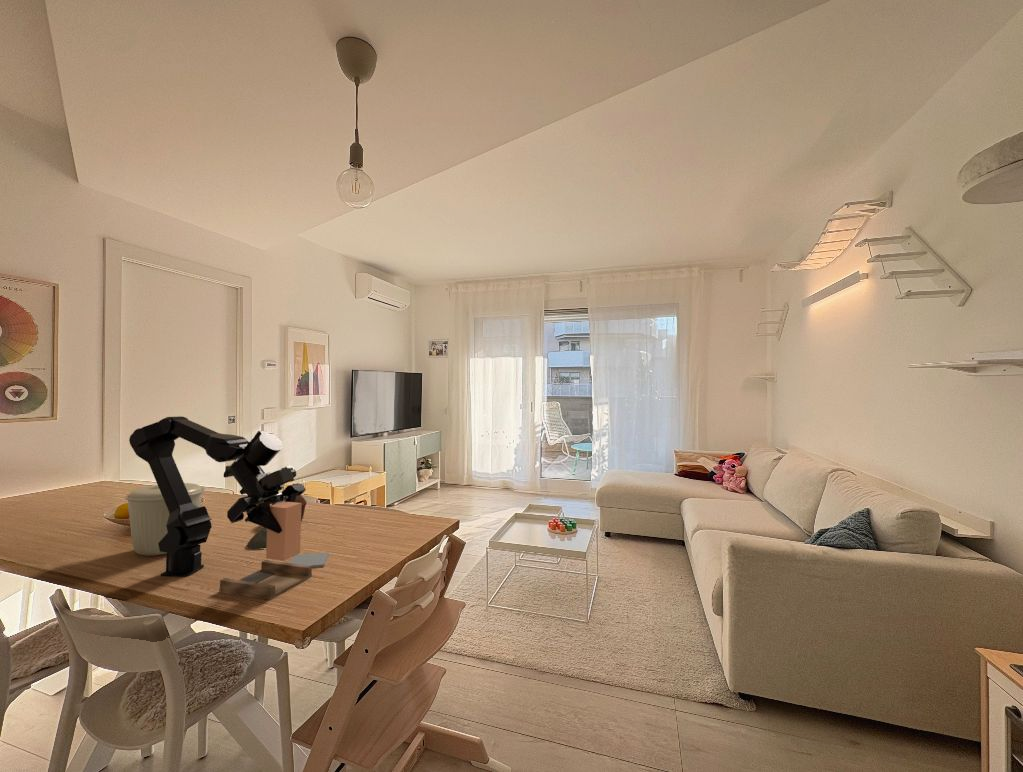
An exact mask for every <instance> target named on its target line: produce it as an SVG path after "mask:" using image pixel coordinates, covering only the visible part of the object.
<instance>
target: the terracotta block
mask: <svg viewBox="0 0 1023 772" xmlns="http://www.w3.org/2000/svg"><path fill="white" fill-rule="evenodd" d="M301 507H302V503H296V502H285V501H284V502H281V503H277V504H274V505H272V504H270V511H271V512H272V514H273V515H274V517H275V518H276V520H277V521H278V523H279V525H280V527H281V529H282V531H281V532H280V533H276V532H274V531H272V530H269V529H267V548H266V554H265V555H266V557H265V559H266V560H273V561H282V562H283V561H287V560H289V559H292V557H293V556H295V555H301V536H302V535H301V533H302V522H301Z"/></svg>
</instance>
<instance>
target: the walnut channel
mask: <svg viewBox="0 0 1023 772" xmlns="http://www.w3.org/2000/svg"><path fill="white" fill-rule="evenodd" d="M260 567H261V569H260V570H257V571H254V572H253V573H250V574H249V575H247V576H244V577H242V578H240V579H233V578H227V577H224V578H222V579H220V580H219V590H218V591H219V593H224V594H231V595H236V596H243V597H250V598H255V599H262V600H268V601H272V600H274V599H275V598H277V597H278V596H280V595H282V594H284V593H285V592H287V591H289V590H291V589H292V588H294V587H296V586H297V585H300V584H301V583H303V582H305V581H306V580H308V579H310V578H312V577H313V574H312V573H313V570H312V569H313V568H312V566H307V565H300V564H292V563H289V562H283V561H282V562H281V561H278V560H270V559H264V560H262V561H261V566H260Z"/></svg>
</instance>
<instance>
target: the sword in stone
mask: <svg viewBox="0 0 1023 772" xmlns="http://www.w3.org/2000/svg"><path fill="white" fill-rule="evenodd" d="M246 547H248V548H250V549H251V550H261V549H260V548H266V549H267V528H265V527H262V528H261V529H259V530H258V531H257V532H256V533H255V534H254V535H253V536H252V537H251V538H250V539H249V541H248V542H247V544H246V545H245V548H246ZM248 548H247V549H248ZM250 549H249V550H250Z"/></svg>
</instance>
